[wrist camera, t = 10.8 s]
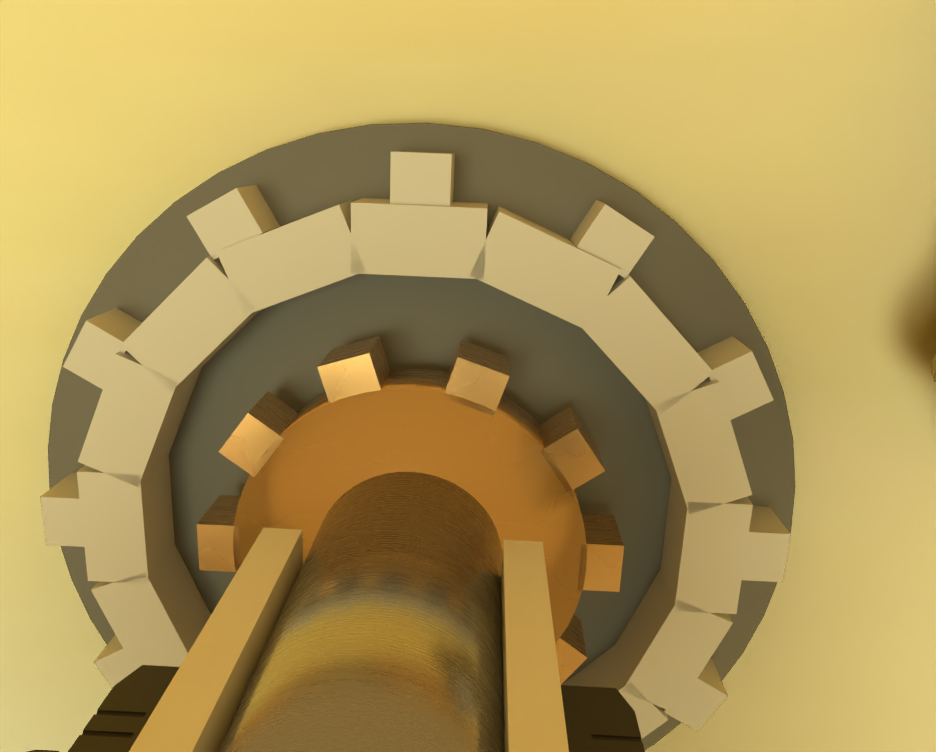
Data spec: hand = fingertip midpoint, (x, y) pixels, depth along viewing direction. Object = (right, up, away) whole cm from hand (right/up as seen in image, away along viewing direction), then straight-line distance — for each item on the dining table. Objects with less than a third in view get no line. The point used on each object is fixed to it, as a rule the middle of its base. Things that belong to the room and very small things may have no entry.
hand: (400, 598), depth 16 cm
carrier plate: (0, +1, +4) cm, 5 cm away
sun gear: (0, +1, +3) cm, 3 cm away
